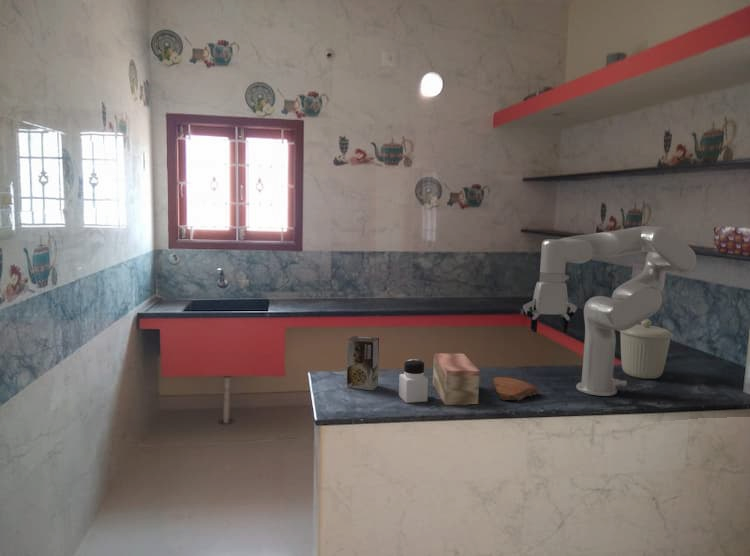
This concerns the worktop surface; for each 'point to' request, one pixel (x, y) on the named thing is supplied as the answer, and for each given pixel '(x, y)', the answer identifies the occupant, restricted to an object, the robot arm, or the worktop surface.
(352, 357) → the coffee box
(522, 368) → the worktop surface
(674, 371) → the worktop surface
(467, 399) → the overhang bay
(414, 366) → the medicine bottle
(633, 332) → the canister
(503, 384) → the ceramic shard
